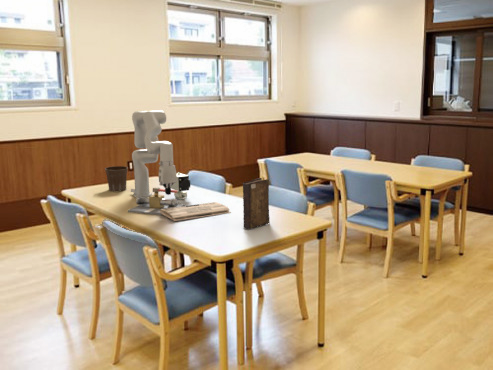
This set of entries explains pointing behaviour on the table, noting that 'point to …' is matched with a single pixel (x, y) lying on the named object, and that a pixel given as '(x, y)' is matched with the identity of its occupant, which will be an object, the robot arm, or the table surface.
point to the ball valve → (181, 186)
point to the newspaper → (195, 211)
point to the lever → (162, 190)
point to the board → (150, 209)
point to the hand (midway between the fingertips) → (168, 194)
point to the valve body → (156, 201)
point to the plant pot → (116, 177)
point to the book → (256, 203)
